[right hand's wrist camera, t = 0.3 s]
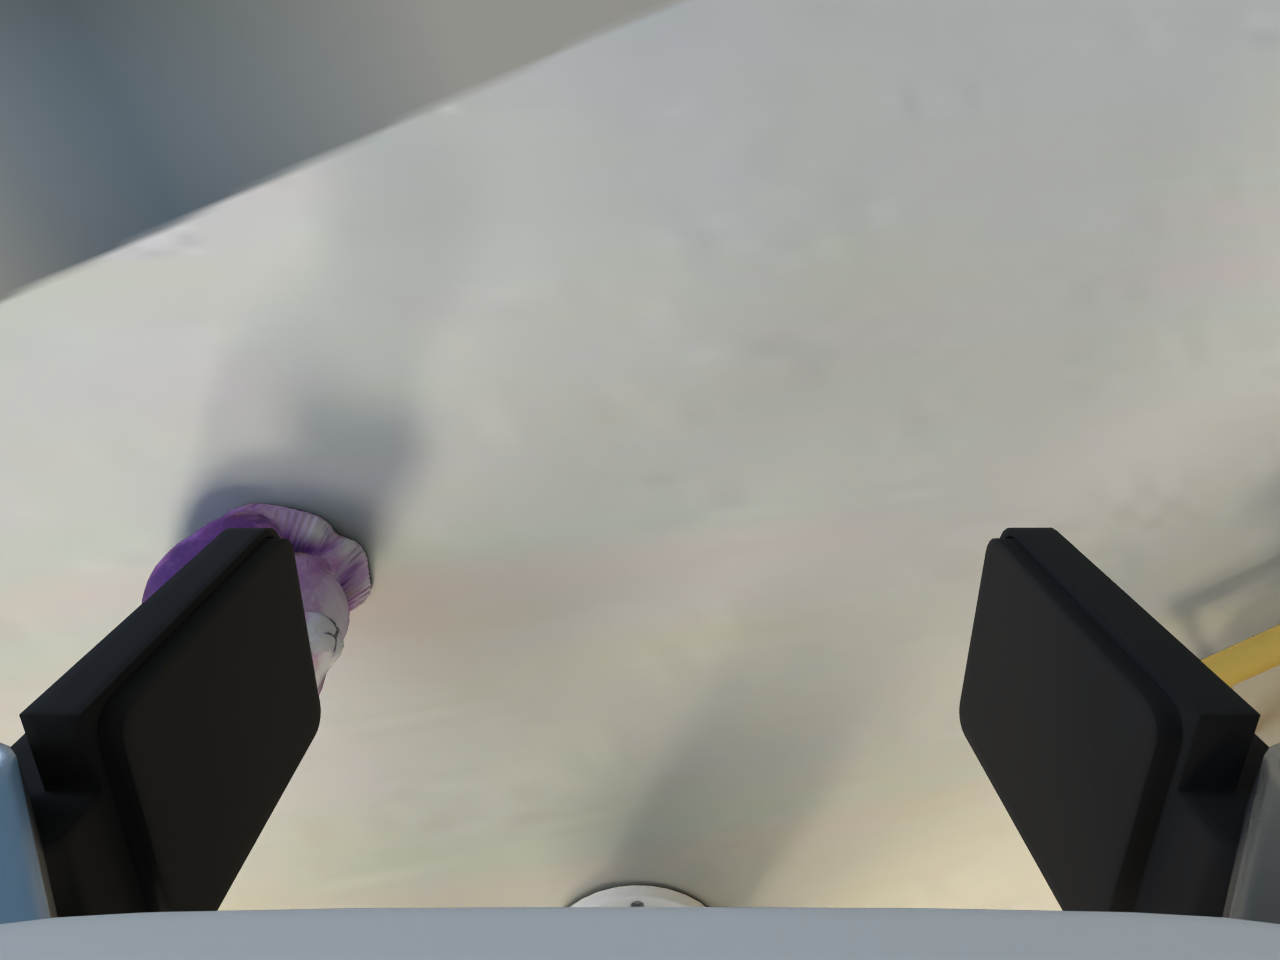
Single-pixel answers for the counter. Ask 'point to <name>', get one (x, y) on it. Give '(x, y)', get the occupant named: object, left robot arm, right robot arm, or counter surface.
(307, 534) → the figurine
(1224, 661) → the drawer
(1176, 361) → the counter surface
